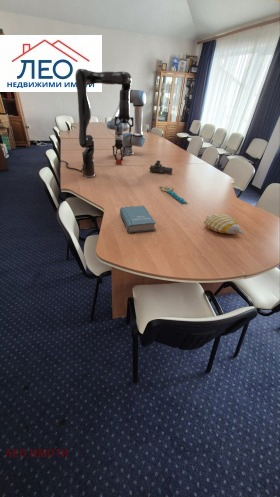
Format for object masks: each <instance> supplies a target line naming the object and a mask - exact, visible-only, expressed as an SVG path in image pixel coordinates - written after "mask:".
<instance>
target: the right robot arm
mask: <svg viewBox="0 0 280 497" xmlns="http://www.w3.org/2000/svg"><path fill="white" fill-rule="evenodd" d="M129 101H130V104H132V107H133V108H134V112H133V113H134V115H133V116H134V117H133V118H134V126H133V128H134V130H133V132H130V133H129V132H127V131H129V125H128V123H126V124H125V123H120V125H119V132H118V131H117V126H115V116H118V117H119V104H118V106H117V107H116V110H115V111H114V113H113V115H112V117H111V120H108V121H107V122H106V127H107V129H108V130H111V131H114V144H113V145H112V156H113V157H114V160H115V164H116V165H118V164H117V158H118V156H117V155H118V150H119V152H120V159H121V161H123V160H124V157H125V156H133V155H134V148H133V147H139V148H142V147H144V145H145V143H146V136H144V133H143V108H144V106H145V105H146V104H147V93H146V92H145V90H140V89H130V99H129ZM119 121H120V120H119V118H118V119H117V120H116V124H118V123H119Z"/></svg>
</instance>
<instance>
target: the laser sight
mask: <svg viewBox="0 0 280 497" xmlns="http://www.w3.org/2000/svg"><path fill="white" fill-rule="evenodd" d="M148 169H149V172H151V173H157V174H162V175H163V174H170V175H172V174H173V167H167V166H163V165H162V163H161V160H156V162H155V164H151V165H150V166H149V168H148Z"/></svg>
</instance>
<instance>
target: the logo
mask: <svg viewBox="0 0 280 497" xmlns="http://www.w3.org/2000/svg"><path fill="white" fill-rule="evenodd" d="M159 188H160V189H161V191H162V192H163V193H164V192H165V193H168V194H169V195H171V197H173V198H174V199H176V200H177V201H178V202H179V203H181V204H187V203H188V202H187V201H185V199H184V198H181V197H180V196H179V195H178V194H177V193H176V192H173V191H174V190H173V187H169V186H168V185H166V186H163V185H160V186H159Z"/></svg>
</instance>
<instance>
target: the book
mask: <svg viewBox="0 0 280 497" xmlns="http://www.w3.org/2000/svg"><path fill="white" fill-rule="evenodd" d="M119 214H120V217H121V219H122V221H123V223H124V226H125V227H126V230H127V232H128V233H141V232H151V231H155V230H156V229H155V224H156V221H155V220H154V218H153V217H152V215H151V214H150V212H149V211H148V209H147V207H146V206H145V205H135V206H134V205H133V206H124V207H123V206H122V207H120V208H119Z"/></svg>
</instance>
